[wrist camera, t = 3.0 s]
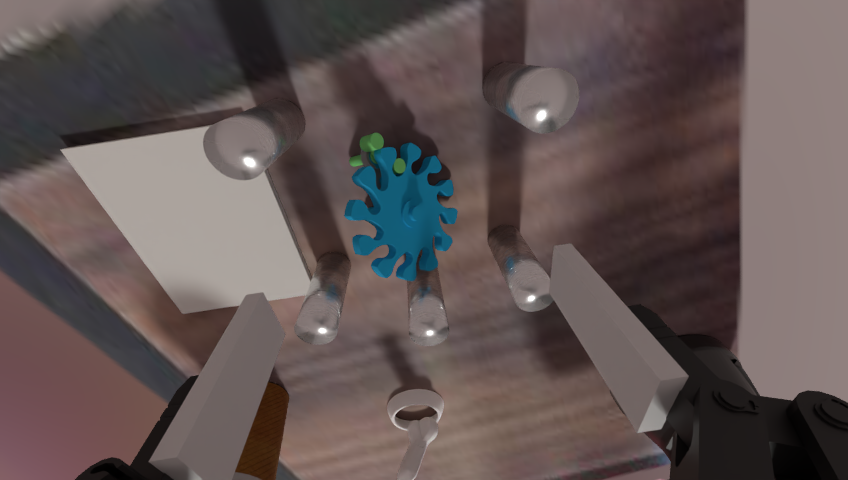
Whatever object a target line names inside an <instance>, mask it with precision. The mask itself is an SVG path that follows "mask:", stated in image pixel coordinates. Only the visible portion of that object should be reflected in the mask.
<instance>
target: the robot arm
mask: <svg viewBox="0 0 848 480" xmlns="http://www.w3.org/2000/svg"><path fill="white" fill-rule="evenodd" d="M549 293H550V295H551V296H552V298H553V299H554V301H555V303H556V304H557V306H558V307H559V309H560V311H561V312H562V314H563V315H564V317H565V319H566V320H567V322H568V323H569V325H570V327H571V328H572V330H573V331H574V333H575V335H576V336H577V338H578V339H579V341H580V343H581V344H582V346H583V347H584V349H585V351H586V352H587V354H588V355H589V357H590V359H591V360H592V362H593V363H594V365H595V366H596V368H597V370H598V371H599V373H600V374H601V376H602V378H603V379H604V381H605V382H606V384H607V386H608V387H609V389H610V393H611V395H612V397H613V399H614V400H615V402H616V404H617V405H618V407H619V408H620V410H621V411H622V412H623V414H624V415H626V416H627V418H628V419H629V421H630V422H631V424H632V426H633V427H634V429H635V430H636V432H637V433H640V432H644V433H645V434H646V435H647V436H648V437H649V438H650V439H651V440H652V441H653V442H654V443H655V444H657V445H658V446H659V447H660V448H661V449H662V450H663V451H664V452H665V454H666V455H667V457H668V458H669V460H670V461H671V468H670V479H669V480H848V403H847V402H845V401H843V400H841V399H839V398H837V397H835V396H832V395H829V394H826V393H822V392H819V391H805V392H802V393H799V394H798V395H797V397H796V398H795V399H794V400H793V401H791V400H784V399H777V398H769V397H763V396H760V395H759V393H758V392H757V390H756V388H755V387H754V385H753V384H752V382H751V380H750V379H749V377H748V375H747V374H746V372H745V371H744V370H743V368H742V366H741V364H740V362H739V360H738V359H737V357H736V356H735V355H734V354H733V353H732V352H731V351H730V350H728V349H727V348H726V347H725V346H724V345H723V344H722V343H721V342H720V341H718V340H717V339H715V338H712V337H709V336H703V335H687V336H680V337H677V336H676V334H675V333H674V332H673V331H672V330H671V329H670V328H668V327H667V325H666V324H665V323H664V322H663V321H662V320H661V319H660V318H659V317H658V316H657V314H655V313H654V312H652V311H650V310H649V309H647V308H645V307H644V306H642V305H634V306H626V305H625V304H624V303H623V301H622V300H621V299H620V298H619V297H618V296H617V295H616V294H615V292H614V291H613V290H612V289H611V288H610V287H609V286H608V285H607V283H606V282H605V281H604V280H603V279H602V278H601V277H600V276H599V274H598V273H597V272H596V271H595V270H594V269H593V268H592V267H591V265H590V264H589V263H588V262H587V261H586V260H585V259H584V258H583V256H582V255H581V254H580V253H579V252H578V251H577V250H576V249H575V247H574V246H573V245H572V244H571V243H569V244H563V245H557V246H554V249H553V258H552V268H551V277H550V287H549ZM285 335H286V334H285V332H284V330H283V328H282V326H281V324H280V322H279V321H278V319H277V317H276V315H275V313H274V311H273V310H272V308H271V306H270V304H269V302H268V300H267V299H266V297H265V295H264V293H263V292H261V293H254V294H248V295H246V296H245V298H244V299H243V301H242V303H241V304H240V306H239V308H238V309H237V311H236V313H235V315H234V316H233V318H232V320H231V321H230V323H229V325H228V327H227V328H226V330H225V332H224V333H223V335H222V337H221V339H220V340H219V342H218V344H217V345H216V347H215V349H214V351H213V352H212V354H211V356H210V357H209V359H208V361H207V363H206V364H205V366H204V368H203V369H202V371H201V373H200V375H197V376H191V377H190V378H189V379H188V380H187V381H186V382H185V383H184V384H183V385H182V386H181V387H180V388H179V389H178V390H177V391H176V393H175V394H174V396H173V398H172V399H171V401H170V402H169V404H168V408H166V409H165V411H164V412H163V414H162V415H161V417H160V421H158V422H157V423H156V425H155V427H154V428H153V430H152V431H151V433H150V435H149V436H148V438H147V439H146V441H145V443H144V444H143V446H142V447H141V449H140V451H139V452H138V454H137V456H136V457H135V459H134V460H133V462H132V464H131V465H130V466H129V465H127V464H126V463H124V462H123V461H122V460H120V459H117V458H108V459H104V460H101V461H100V462H98V463H96V464H94V465H92V466H90V467H89V468H88V469H87V470H85V471H84V472H83V473H82V474H80V475H79V476H78V477H77V478H76V479H75V480H232V478H233V475H234V473H235V470H236V467H237V464H238V462H239V459H240V456H241V454H242V451H243V448H244V446H245V443H246V440H247V437H248V435H249V432H250V429H251V427H252V424H253V421H254V418H255V416H256V413H257V410H258V408H259V405H260V402H261V399H262V397H263V394H264V391H265V389H266V386H267V383H268V381H269V378H270V375H271V372H272V370H273V367H274V364H275V362H276V359H277V356H278V353H279V351H280V348H281V345H282V343H283V340H284V337H285Z"/></svg>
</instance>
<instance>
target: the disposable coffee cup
mask: <svg viewBox="0 0 848 480" xmlns="http://www.w3.org/2000/svg"><path fill="white" fill-rule="evenodd" d="M288 402H289V395H288V393H287V392H286V391H285V390H284V389H283V388H282V387H280V386H278V385H276V384H273V383H270V382H268V383H267V386H266V389H265V391H264V394H263V397H262V399H261V402H260V405H259V408H258V410H257V413H256V416H255V418H254V421H253V424H252V427H251V429H250V432H249V435H248V437H247V440H246V443H245V446H244V448H243V451H242V454H241V456H240V459H239V462H238V464H237V467H236V470H235V473H234V475H233V478H232V480H275V479H276V472H277V467H278V461H279V455H280V449H281V443H282V437H283V431H284V425H285V419H286V414H287V408H288Z"/></svg>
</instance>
